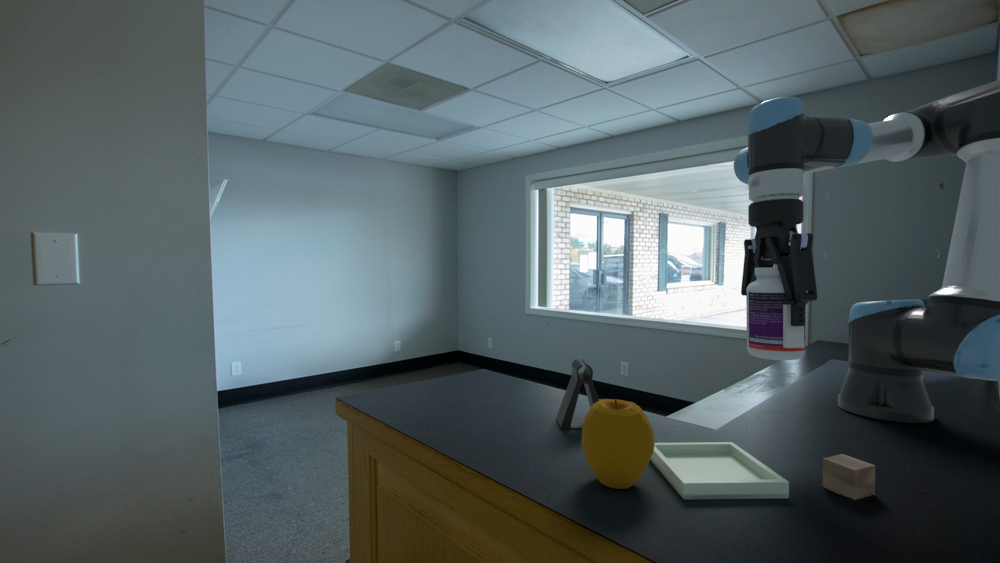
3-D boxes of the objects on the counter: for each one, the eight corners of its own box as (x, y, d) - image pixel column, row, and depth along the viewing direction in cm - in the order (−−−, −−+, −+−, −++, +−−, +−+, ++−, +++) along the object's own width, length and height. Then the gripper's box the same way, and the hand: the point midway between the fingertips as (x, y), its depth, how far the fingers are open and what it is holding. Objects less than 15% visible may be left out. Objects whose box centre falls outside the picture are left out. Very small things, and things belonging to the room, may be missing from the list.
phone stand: (560, 429, 83) (560, 365, 83) (556, 419, 89) (556, 358, 89) (609, 429, 83) (609, 365, 83) (601, 419, 89) (602, 358, 89)
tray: (732, 455, 72) (732, 442, 72) (788, 498, 58) (789, 482, 58) (646, 456, 71) (646, 442, 71) (683, 499, 58) (683, 483, 58)
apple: (650, 471, 66) (651, 391, 66) (658, 504, 57) (659, 411, 56) (582, 464, 68) (583, 387, 68) (579, 495, 59) (579, 406, 58)
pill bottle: (815, 362, 68) (815, 266, 68) (756, 361, 70) (756, 267, 69) (791, 352, 76) (792, 267, 76) (739, 351, 77) (739, 267, 77)
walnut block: (841, 482, 63) (842, 453, 63) (874, 495, 59) (875, 465, 59) (822, 487, 61) (822, 458, 61) (855, 501, 57) (855, 470, 57)
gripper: (718, 209, 82) (719, 334, 83) (796, 189, 62) (796, 355, 62) (759, 209, 83) (759, 333, 83) (850, 188, 62) (849, 354, 62)
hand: (775, 342), depth 73 cm, fingers closed on pill bottle, 8 cm apart
